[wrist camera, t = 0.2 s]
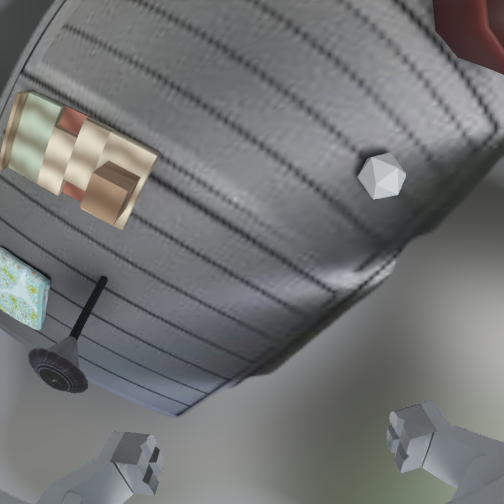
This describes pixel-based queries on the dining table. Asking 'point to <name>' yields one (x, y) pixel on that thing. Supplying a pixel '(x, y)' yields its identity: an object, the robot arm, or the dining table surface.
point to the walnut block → (109, 191)
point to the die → (382, 176)
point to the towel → (22, 291)
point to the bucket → (473, 30)
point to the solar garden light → (65, 354)
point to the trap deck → (68, 148)
